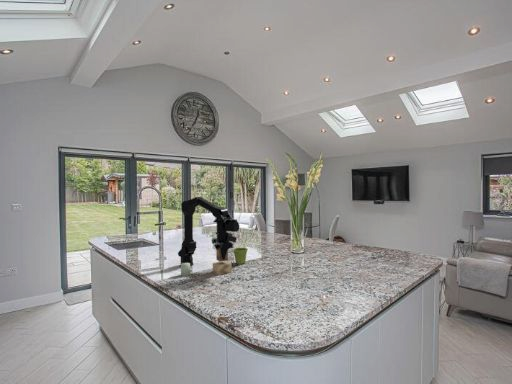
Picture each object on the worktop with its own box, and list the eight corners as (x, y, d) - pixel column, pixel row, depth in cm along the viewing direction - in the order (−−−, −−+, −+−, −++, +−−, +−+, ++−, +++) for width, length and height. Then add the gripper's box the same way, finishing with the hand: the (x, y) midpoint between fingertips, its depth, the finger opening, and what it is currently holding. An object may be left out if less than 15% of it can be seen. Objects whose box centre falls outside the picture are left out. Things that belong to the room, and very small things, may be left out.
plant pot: (246, 265, 179) (245, 251, 179) (231, 264, 181) (230, 250, 181) (249, 261, 188) (249, 247, 188) (235, 260, 190) (235, 247, 190)
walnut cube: (219, 261, 163) (219, 250, 163) (216, 259, 168) (216, 249, 167) (227, 260, 165) (227, 249, 165) (224, 258, 170) (224, 248, 170)
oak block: (218, 275, 161) (218, 266, 160) (212, 271, 168) (212, 262, 167) (231, 272, 165) (231, 263, 164) (225, 269, 171) (225, 260, 171)
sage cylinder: (179, 275, 160) (178, 264, 160) (184, 273, 165) (183, 262, 165) (187, 276, 158) (186, 265, 158) (192, 273, 163) (191, 263, 163)
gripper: (241, 231, 161) (242, 260, 162) (229, 227, 178) (229, 253, 178) (222, 233, 156) (222, 262, 157) (211, 229, 173) (211, 255, 173)
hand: (222, 258), depth 166 cm, fingers closed on walnut cube, 5 cm apart
